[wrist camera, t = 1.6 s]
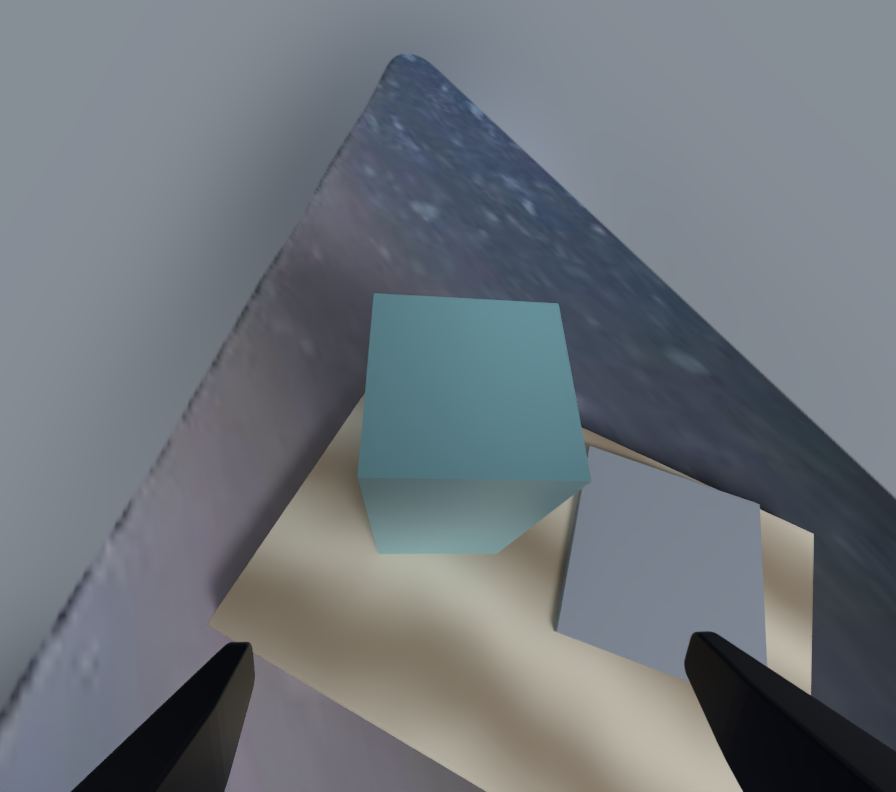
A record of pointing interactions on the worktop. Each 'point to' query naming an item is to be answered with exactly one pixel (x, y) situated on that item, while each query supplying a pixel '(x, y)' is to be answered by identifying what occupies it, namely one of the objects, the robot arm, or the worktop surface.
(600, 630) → the coaster
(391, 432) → the tall teal block
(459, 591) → the board
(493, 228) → the worktop surface
